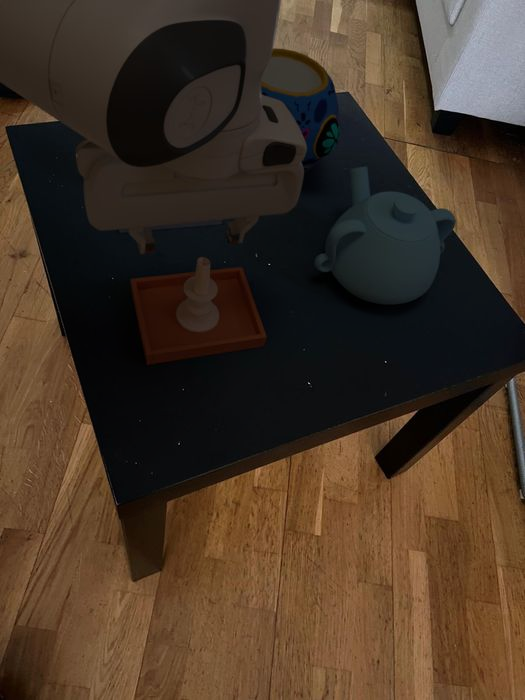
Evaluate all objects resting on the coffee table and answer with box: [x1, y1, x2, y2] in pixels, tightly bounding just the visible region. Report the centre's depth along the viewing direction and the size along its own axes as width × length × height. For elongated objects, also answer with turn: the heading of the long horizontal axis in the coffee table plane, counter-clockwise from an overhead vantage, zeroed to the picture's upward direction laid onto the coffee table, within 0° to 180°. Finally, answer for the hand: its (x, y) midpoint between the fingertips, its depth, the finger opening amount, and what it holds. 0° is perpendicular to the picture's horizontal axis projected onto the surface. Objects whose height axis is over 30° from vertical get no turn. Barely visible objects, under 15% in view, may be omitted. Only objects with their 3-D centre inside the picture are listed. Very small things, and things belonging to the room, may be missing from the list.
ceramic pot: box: [261, 47, 341, 174], centre depth 79 cm, size 18×18×15 cm
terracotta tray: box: [130, 266, 267, 366], centre depth 65 cm, size 14×11×2 cm
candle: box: [176, 256, 219, 333], centre depth 61 cm, size 5×5×10 cm
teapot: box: [314, 165, 457, 306], centre depth 72 cm, size 20×20×13 cm
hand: (190, 244), depth 56 cm, fingers open, 8 cm apart
